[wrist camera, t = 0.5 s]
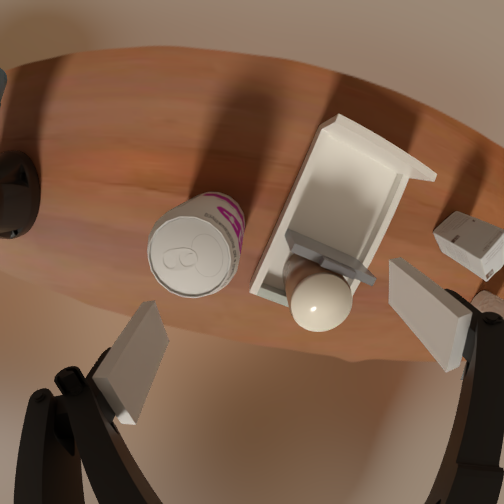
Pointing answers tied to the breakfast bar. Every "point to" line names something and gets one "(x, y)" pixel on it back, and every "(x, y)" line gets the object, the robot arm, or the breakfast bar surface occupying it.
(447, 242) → the skincare box
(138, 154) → the breakfast bar surface
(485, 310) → the white cup
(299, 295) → the jar
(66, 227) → the breakfast bar surface
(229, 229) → the supplement can
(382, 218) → the lane
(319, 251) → the pusher
